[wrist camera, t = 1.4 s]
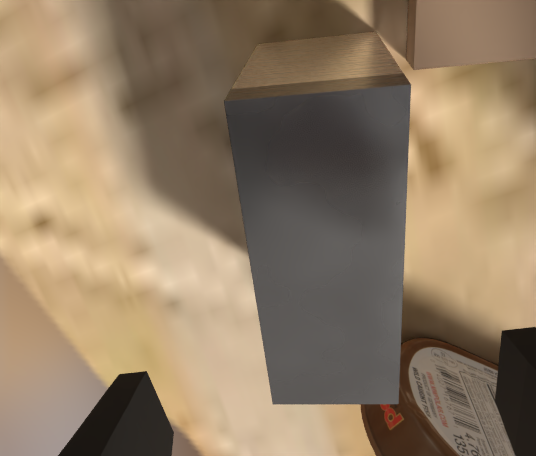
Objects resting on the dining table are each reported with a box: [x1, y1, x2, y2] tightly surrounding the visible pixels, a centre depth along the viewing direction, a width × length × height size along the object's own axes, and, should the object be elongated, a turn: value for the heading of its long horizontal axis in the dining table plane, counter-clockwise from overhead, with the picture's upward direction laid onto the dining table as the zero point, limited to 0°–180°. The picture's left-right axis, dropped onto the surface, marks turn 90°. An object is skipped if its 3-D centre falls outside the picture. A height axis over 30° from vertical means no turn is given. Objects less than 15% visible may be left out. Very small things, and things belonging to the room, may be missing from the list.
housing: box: [224, 32, 411, 404], centre depth 16 cm, size 4×10×7 cm, turn 7°
